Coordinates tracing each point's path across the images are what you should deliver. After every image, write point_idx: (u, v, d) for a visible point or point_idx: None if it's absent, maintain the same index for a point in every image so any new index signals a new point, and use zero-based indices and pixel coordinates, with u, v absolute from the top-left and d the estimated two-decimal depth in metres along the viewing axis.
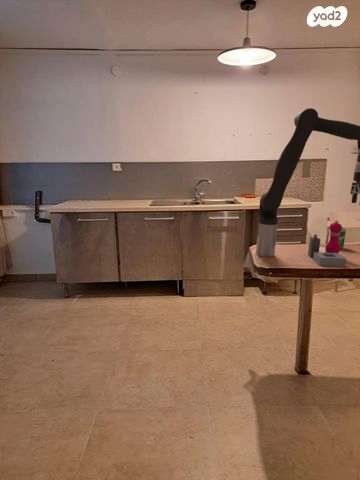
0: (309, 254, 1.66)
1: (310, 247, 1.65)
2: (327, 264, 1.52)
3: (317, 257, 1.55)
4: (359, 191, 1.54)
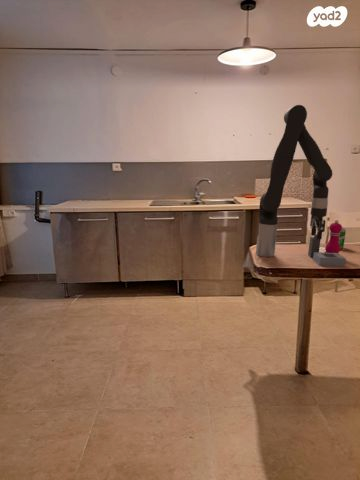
0: (309, 254, 1.66)
1: (310, 247, 1.65)
2: (327, 264, 1.52)
3: (317, 257, 1.55)
4: (316, 226, 1.59)
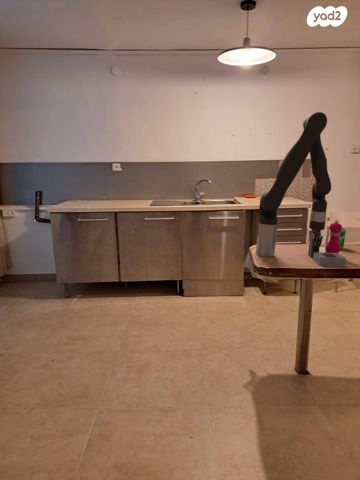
0: (309, 254, 1.66)
1: (310, 247, 1.65)
2: (327, 264, 1.52)
3: (317, 257, 1.55)
4: (313, 239, 1.62)
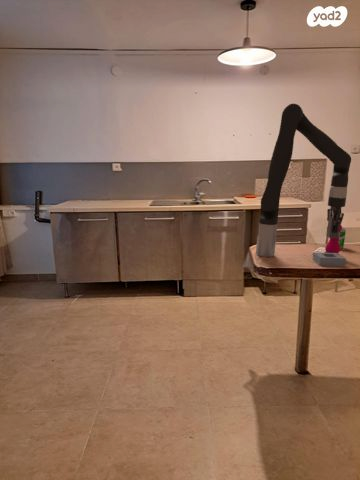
0: (328, 234, 1.53)
1: (329, 226, 1.51)
2: (327, 264, 1.52)
3: (317, 257, 1.55)
4: None
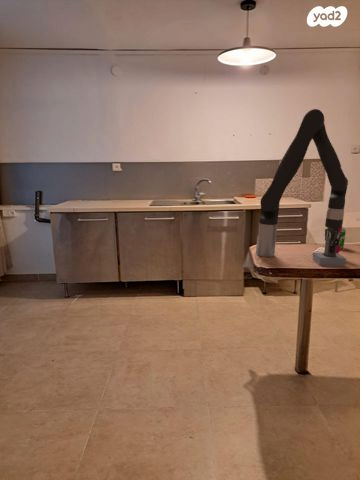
0: (325, 254, 1.55)
1: (326, 247, 1.54)
2: (327, 264, 1.52)
3: (317, 257, 1.55)
4: (330, 238, 1.51)
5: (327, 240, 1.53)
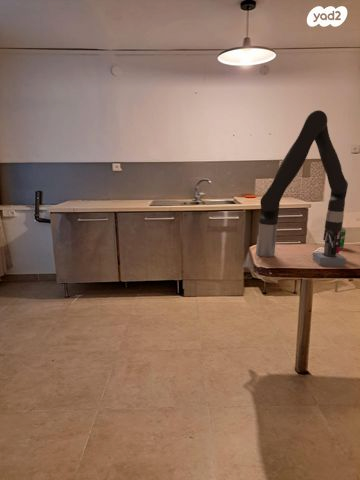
0: None
1: (325, 253, 1.55)
2: (327, 264, 1.52)
3: (317, 257, 1.55)
4: (330, 240, 1.50)
5: (326, 246, 1.54)
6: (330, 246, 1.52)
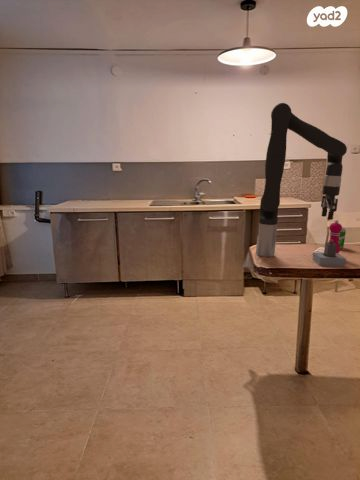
0: None
1: (325, 253, 1.55)
2: (327, 264, 1.52)
3: (317, 257, 1.55)
4: (327, 205, 1.51)
5: (326, 246, 1.54)
6: (330, 246, 1.52)
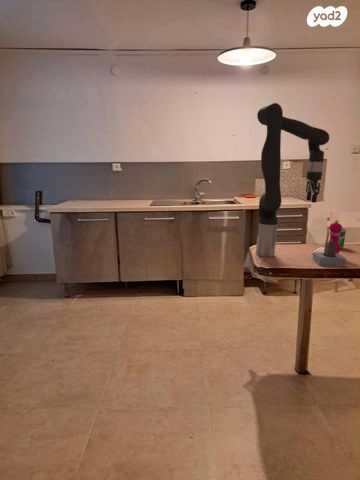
0: None
1: (325, 253, 1.55)
2: (327, 264, 1.52)
3: (317, 257, 1.55)
4: (311, 189, 1.65)
5: (326, 246, 1.54)
6: (330, 246, 1.52)
